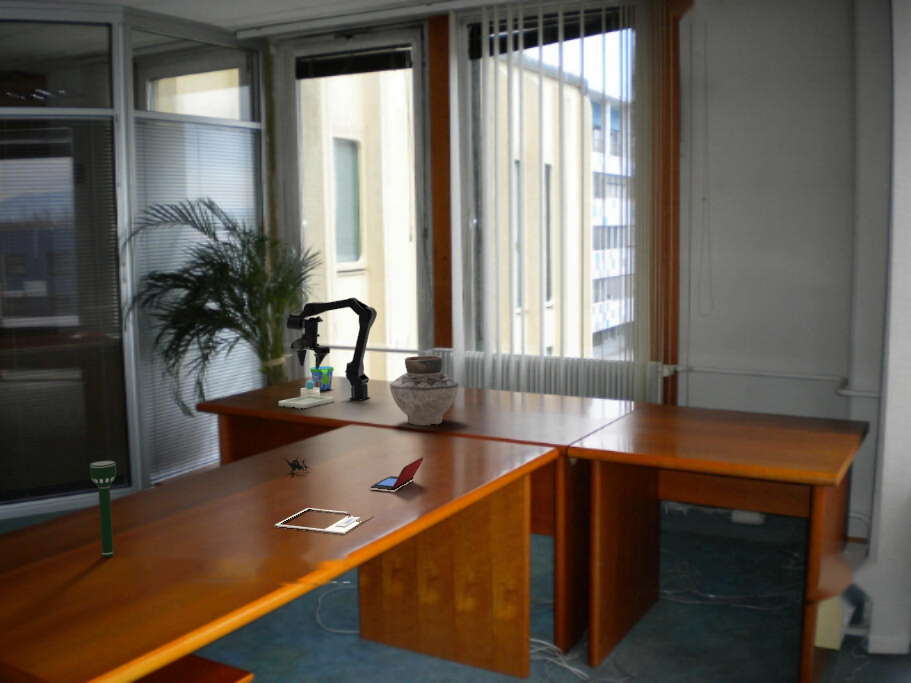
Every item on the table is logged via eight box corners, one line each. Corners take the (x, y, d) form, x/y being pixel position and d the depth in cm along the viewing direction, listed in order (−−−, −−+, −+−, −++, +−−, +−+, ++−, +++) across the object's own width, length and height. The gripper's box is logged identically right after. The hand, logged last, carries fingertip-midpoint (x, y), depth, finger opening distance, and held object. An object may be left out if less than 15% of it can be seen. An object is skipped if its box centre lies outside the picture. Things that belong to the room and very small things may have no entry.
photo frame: (344, 531, 203) (274, 524, 209) (344, 536, 203) (275, 528, 210) (373, 513, 216) (307, 507, 223) (373, 518, 216) (307, 511, 223)
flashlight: (124, 551, 194) (119, 459, 192) (116, 560, 189) (110, 465, 187) (100, 552, 194) (94, 460, 191) (91, 560, 188) (85, 466, 186)
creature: (318, 476, 260) (300, 466, 265) (320, 459, 259) (302, 449, 264) (297, 482, 254) (278, 472, 259) (299, 464, 253) (281, 454, 258)
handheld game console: (389, 480, 252) (389, 453, 251) (425, 483, 247) (424, 456, 247) (368, 491, 240) (367, 463, 239) (405, 494, 236) (404, 466, 235)
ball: (316, 389, 393) (316, 380, 392) (310, 390, 389) (310, 381, 389) (309, 388, 395) (309, 379, 394) (303, 389, 392) (303, 380, 391)
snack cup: (309, 387, 421) (309, 365, 420) (332, 386, 424) (331, 364, 423) (312, 392, 406) (311, 370, 405) (335, 391, 409) (335, 369, 408)
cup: (323, 397, 394) (323, 387, 393) (310, 399, 387) (310, 390, 386) (309, 395, 398) (309, 386, 398) (297, 398, 391) (296, 388, 391)
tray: (334, 402, 380) (333, 397, 379) (304, 408, 365) (303, 403, 365) (309, 399, 387) (309, 394, 387) (278, 406, 373) (278, 401, 372)
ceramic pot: (381, 427, 324) (380, 361, 321) (402, 415, 348) (400, 353, 345) (449, 430, 318) (448, 362, 316) (465, 416, 342) (465, 353, 340)
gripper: (282, 330, 389) (280, 366, 391) (312, 335, 378) (310, 372, 380) (301, 328, 398) (299, 364, 400) (331, 333, 387) (329, 370, 388)
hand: (309, 367), depth 392 cm, fingers open, 9 cm apart
